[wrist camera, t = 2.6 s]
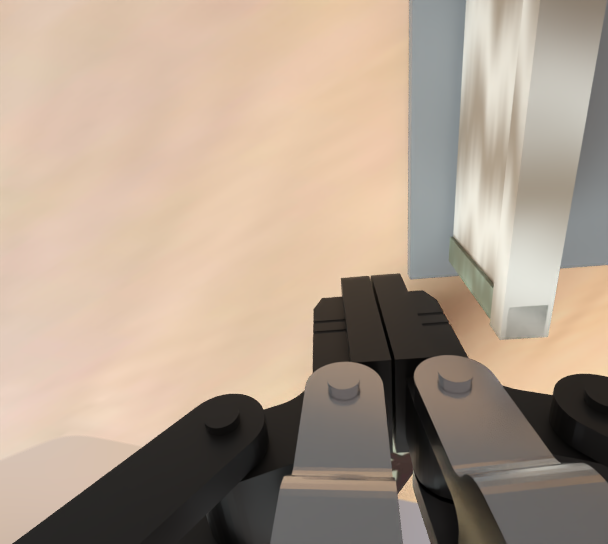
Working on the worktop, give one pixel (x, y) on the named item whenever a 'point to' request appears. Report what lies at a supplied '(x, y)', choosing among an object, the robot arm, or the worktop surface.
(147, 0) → the worktop surface
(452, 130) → the plaque display stand
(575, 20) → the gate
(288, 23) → the worktop surface
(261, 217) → the worktop surface
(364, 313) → the robot arm
